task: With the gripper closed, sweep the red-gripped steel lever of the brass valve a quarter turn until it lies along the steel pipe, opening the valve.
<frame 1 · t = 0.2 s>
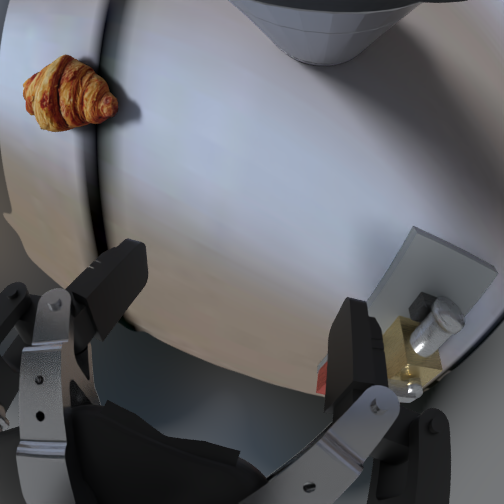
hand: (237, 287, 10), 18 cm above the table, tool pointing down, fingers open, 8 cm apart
slate board: (402, 326, 33), on the table
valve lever: (376, 387, 24), point 11 cm above the table, hinge at 0.0°
croissant: (74, 89, 24), on the table
valve pipe: (407, 356, 29), on the slate board, point 5 cm above the table
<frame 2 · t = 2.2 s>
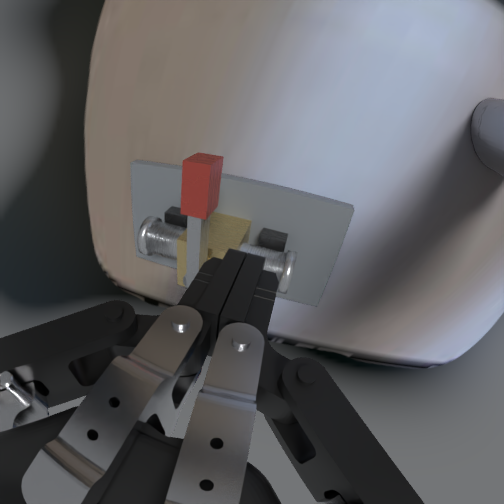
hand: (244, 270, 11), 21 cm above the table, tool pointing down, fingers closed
slate board: (228, 230, 35), on the table
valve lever: (198, 234, 23), point 11 cm above the table, hinge at 0.0°
valve pipe: (215, 251, 31), on the slate board, point 5 cm above the table
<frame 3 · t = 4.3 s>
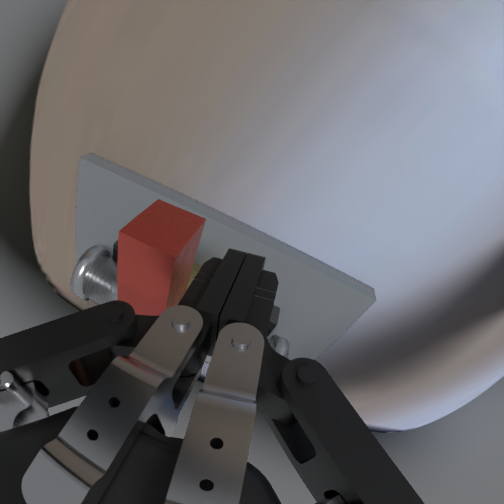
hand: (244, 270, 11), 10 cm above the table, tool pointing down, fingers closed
slate board: (198, 279, 25), on the table
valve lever: (149, 330, 13), point 11 cm above the table, hinge at 3.3°, touching gripper
valve pipe: (176, 318, 21), on the slate board, point 5 cm above the table
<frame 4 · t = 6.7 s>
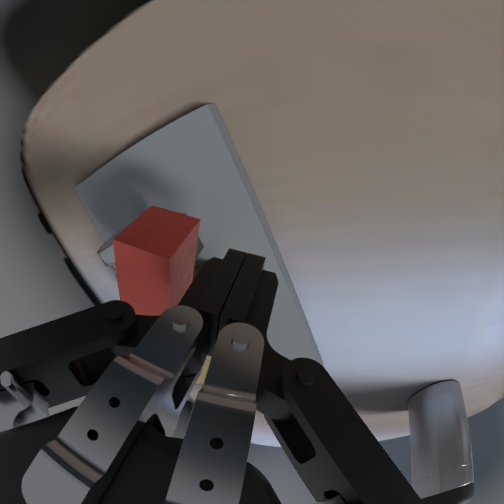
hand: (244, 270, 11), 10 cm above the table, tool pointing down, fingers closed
slate board: (209, 284, 25), on the table
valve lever: (159, 337, 13), point 11 cm above the table, hinge at 53.9°, touching gripper
valve pipe: (189, 324, 21), on the slate board, point 5 cm above the table
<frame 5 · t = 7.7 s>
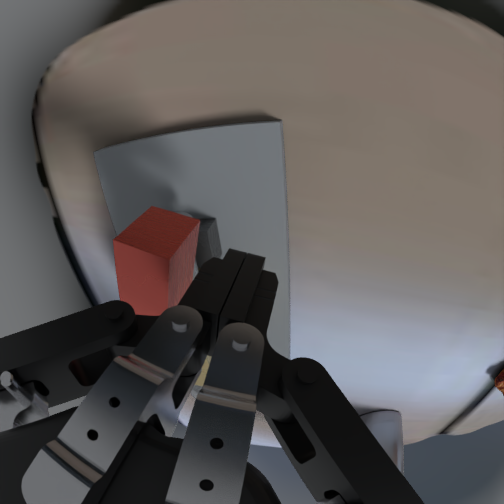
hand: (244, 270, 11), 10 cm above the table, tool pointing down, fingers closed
slate board: (209, 284, 25), on the table
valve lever: (159, 337, 13), point 11 cm above the table, hinge at 71.0°, touching gripper
valve pipe: (189, 325, 21), on the slate board, point 5 cm above the table
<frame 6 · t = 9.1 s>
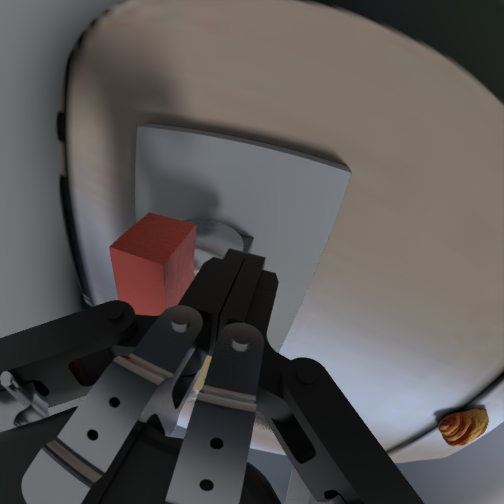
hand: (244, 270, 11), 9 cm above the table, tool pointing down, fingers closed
slate board: (216, 289, 25), on the table
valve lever: (163, 343, 13), point 11 cm above the table, hinge at 90.7°
croissant: (463, 416, 33), on the table
valve pipe: (196, 330, 21), on the slate board, point 5 cm above the table
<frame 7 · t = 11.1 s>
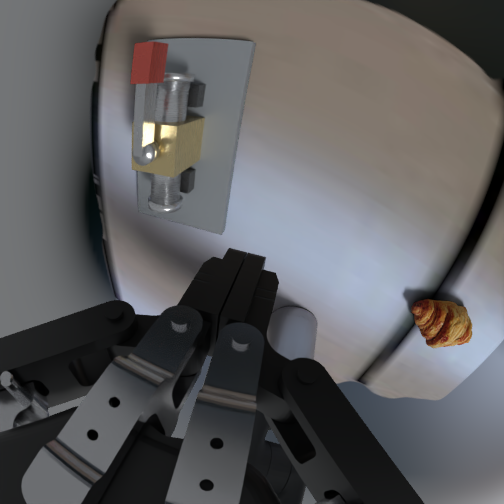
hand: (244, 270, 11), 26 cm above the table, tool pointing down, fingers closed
slate board: (187, 133, 35), on the table
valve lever: (145, 104, 23), point 11 cm above the table, hinge at 90.8°
croissant: (442, 316, 42), on the table
valve pipe: (168, 141, 30), on the slate board, point 5 cm above the table
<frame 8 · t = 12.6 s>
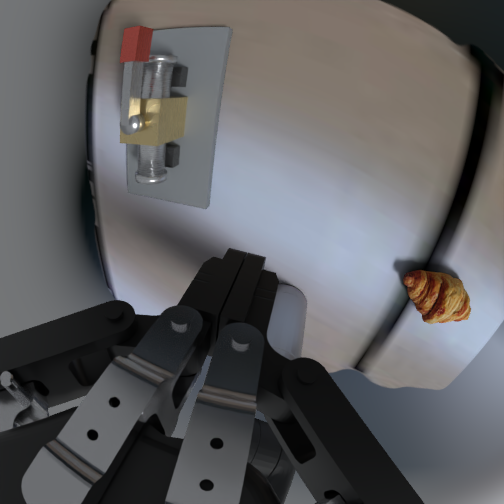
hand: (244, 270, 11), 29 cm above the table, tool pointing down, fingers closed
slate board: (172, 114, 36), on the table
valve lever: (132, 80, 24), point 11 cm above the table, hinge at 90.8°
croissant: (437, 291, 42), on the table
valve pipe: (154, 118, 31), on the slate board, point 5 cm above the table
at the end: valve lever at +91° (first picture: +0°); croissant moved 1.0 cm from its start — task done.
